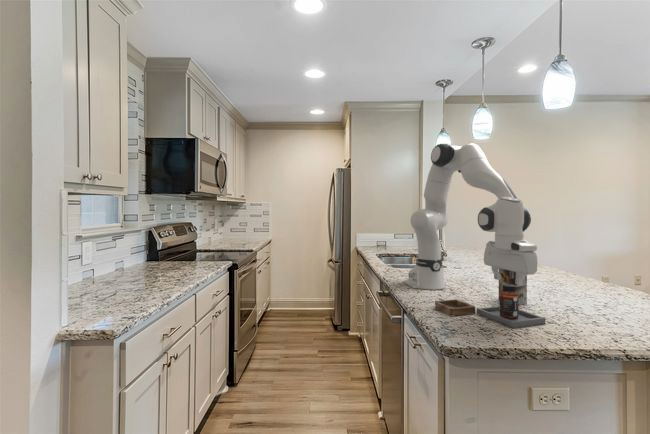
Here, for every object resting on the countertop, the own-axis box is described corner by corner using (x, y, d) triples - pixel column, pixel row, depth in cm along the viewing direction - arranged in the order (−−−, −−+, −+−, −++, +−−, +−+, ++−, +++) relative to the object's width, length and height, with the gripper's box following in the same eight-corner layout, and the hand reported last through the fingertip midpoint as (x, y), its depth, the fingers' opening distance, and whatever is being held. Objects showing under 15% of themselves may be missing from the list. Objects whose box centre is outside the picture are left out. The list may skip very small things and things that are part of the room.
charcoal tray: (476, 313, 123) (476, 308, 123) (506, 310, 127) (506, 305, 127) (512, 328, 108) (512, 322, 108) (545, 323, 112) (545, 318, 112)
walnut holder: (433, 307, 131) (433, 301, 131) (457, 305, 134) (457, 299, 134) (451, 316, 121) (451, 309, 121) (476, 313, 124) (476, 306, 124)
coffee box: (527, 303, 136) (528, 264, 136) (515, 305, 134) (516, 265, 134) (509, 298, 145) (509, 261, 144) (497, 299, 143) (497, 262, 142)
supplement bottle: (521, 320, 114) (521, 287, 114) (502, 319, 116) (502, 286, 115) (515, 314, 120) (515, 283, 120) (497, 313, 121) (497, 282, 121)
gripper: (479, 240, 126) (479, 276, 127) (526, 247, 107) (524, 289, 107) (493, 240, 128) (492, 275, 128) (541, 246, 108) (540, 288, 109)
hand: (507, 282), depth 118 cm, fingers open, 8 cm apart
